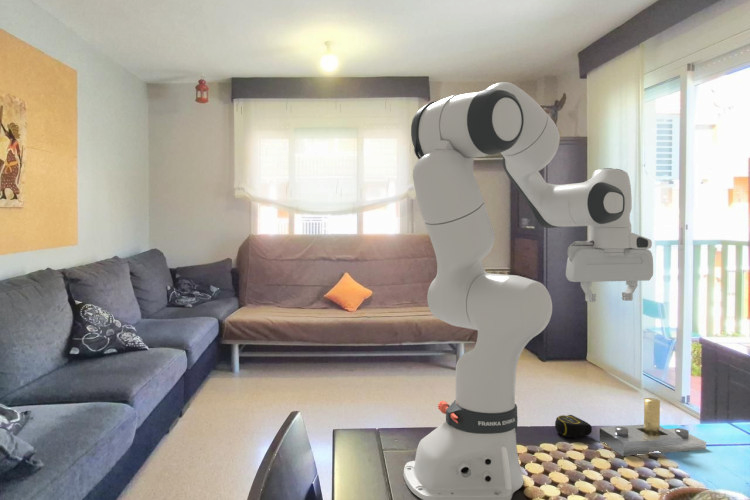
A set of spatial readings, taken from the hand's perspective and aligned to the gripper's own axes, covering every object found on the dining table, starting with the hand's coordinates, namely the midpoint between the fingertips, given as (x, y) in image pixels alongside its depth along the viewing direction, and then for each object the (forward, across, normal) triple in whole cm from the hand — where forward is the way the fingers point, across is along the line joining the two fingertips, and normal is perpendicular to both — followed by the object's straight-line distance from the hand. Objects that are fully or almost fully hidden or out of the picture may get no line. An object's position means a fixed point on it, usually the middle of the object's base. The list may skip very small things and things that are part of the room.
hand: (608, 301), depth 115 cm
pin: (+31, +6, -7) cm, 32 cm away
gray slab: (+31, +6, -7) cm, 32 cm away
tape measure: (+32, -8, +2) cm, 32 cm away
